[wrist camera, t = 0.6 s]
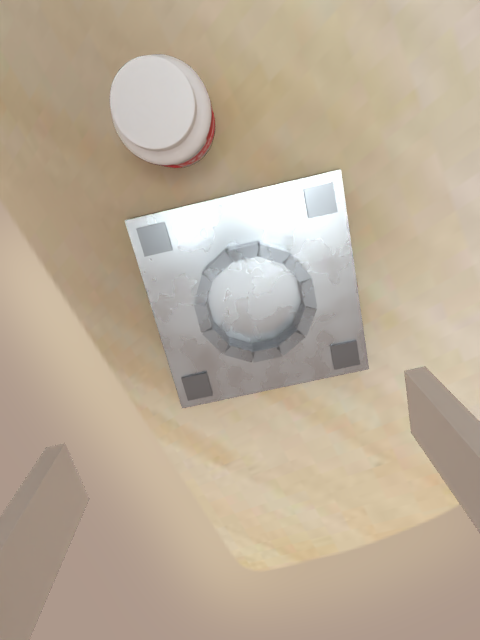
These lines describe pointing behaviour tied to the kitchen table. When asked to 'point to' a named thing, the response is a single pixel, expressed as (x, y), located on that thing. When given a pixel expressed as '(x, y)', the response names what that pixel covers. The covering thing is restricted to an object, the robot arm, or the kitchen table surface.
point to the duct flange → (253, 289)
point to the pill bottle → (162, 111)
